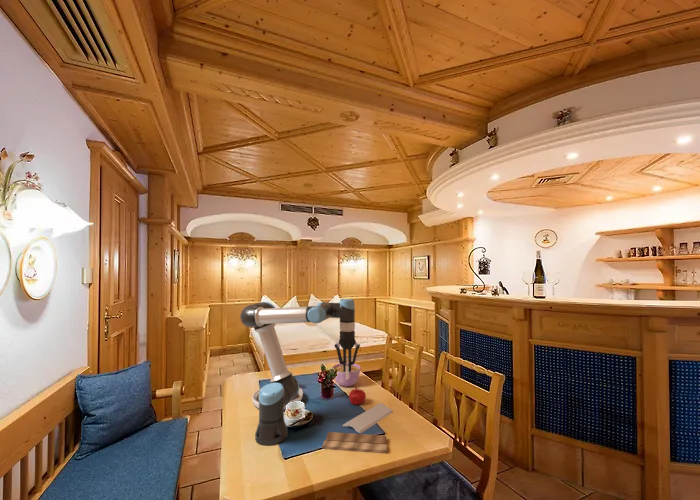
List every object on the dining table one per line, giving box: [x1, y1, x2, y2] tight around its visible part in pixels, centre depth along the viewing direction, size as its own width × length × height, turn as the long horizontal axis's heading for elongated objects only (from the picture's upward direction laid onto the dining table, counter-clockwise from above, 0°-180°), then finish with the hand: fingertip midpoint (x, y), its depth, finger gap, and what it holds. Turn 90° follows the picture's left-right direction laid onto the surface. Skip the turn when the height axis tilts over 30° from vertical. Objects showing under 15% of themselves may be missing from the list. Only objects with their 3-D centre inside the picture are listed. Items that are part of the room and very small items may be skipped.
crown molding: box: [342, 402, 394, 434], centre depth 169 cm, size 29×12×4 cm, turn 140°
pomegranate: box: [348, 386, 366, 405], centre depth 189 cm, size 10×10×9 cm
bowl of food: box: [331, 362, 361, 388], centre depth 217 cm, size 20×20×12 cm
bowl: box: [251, 387, 304, 411], centre depth 191 cm, size 30×30×8 cm
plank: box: [325, 431, 387, 445], centre depth 148 cm, size 28×6×1 cm, turn 82°
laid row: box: [321, 439, 388, 454], centre depth 142 cm, size 29×5×1 cm, turn 82°
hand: (347, 378), depth 156 cm, fingers closed
